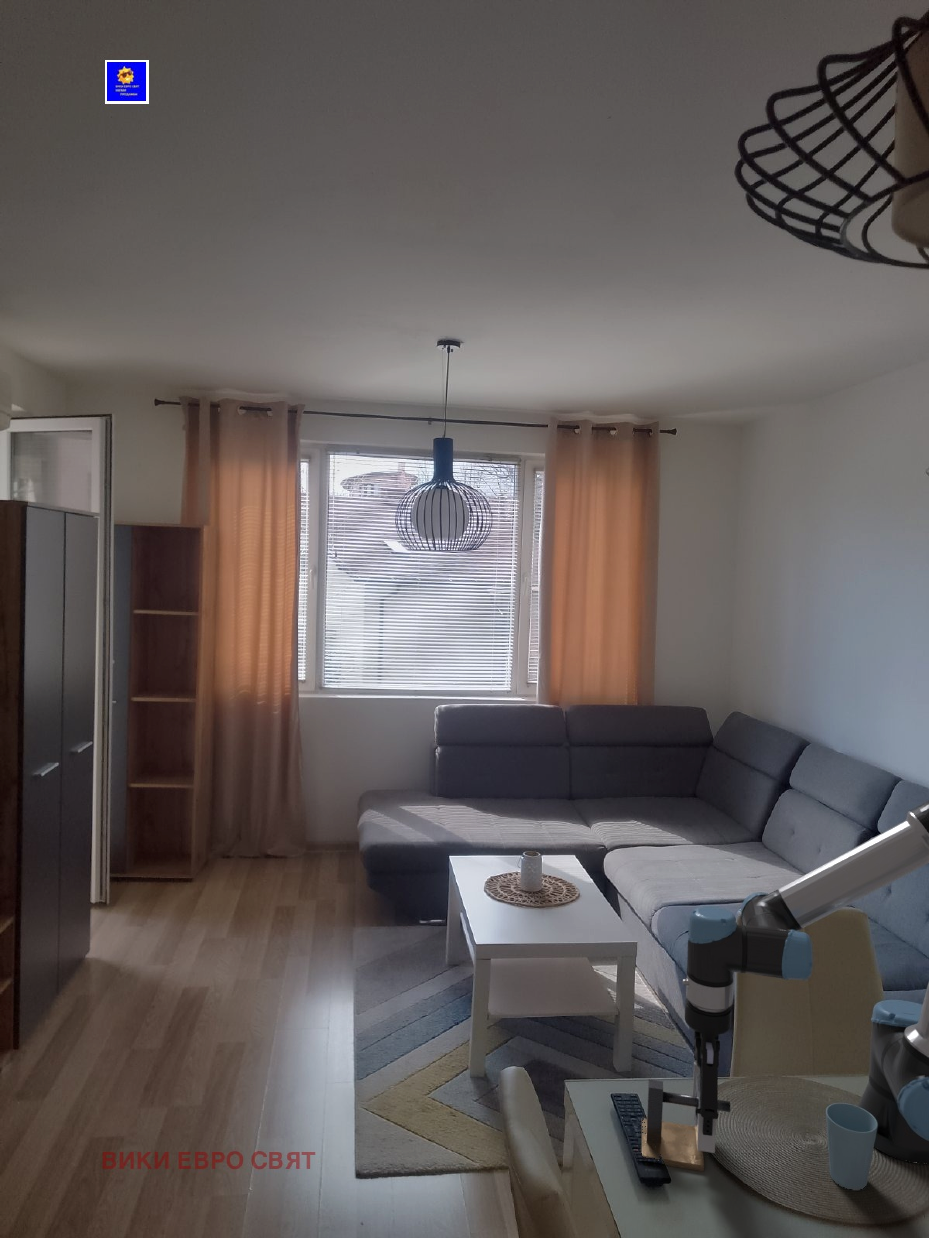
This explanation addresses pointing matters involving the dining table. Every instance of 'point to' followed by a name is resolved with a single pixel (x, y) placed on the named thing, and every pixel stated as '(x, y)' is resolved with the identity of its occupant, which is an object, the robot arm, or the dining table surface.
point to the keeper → (672, 1130)
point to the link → (698, 1103)
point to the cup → (850, 1144)
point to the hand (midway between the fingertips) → (703, 1123)
